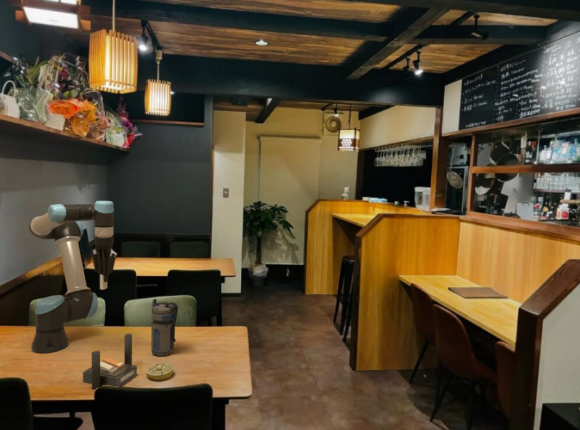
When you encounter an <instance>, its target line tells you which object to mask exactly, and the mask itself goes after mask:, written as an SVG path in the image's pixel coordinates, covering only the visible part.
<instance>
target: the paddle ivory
mask: <svg viewBox="0 0 580 430" xmlns="http://www.w3.org/2000/svg"><path fill="white" fill-rule="evenodd" d="M100 368H101V369H103V370H106V371H108V372H110V373H113V372H115V371H117V368H116V367H114V366H111V365H109V364H107V363H104V362H101V361H100Z"/></svg>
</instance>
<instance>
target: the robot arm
mask: <svg viewBox="0 0 580 430" xmlns="http://www.w3.org/2000/svg"><path fill="white" fill-rule="evenodd" d="M47 209H48V210H47V212H46V213H45V214H43V215H39V216H36V217H33V218H32V219H31V220H30V222H29V223H28V230H29V232H30V234H31V235H32V236H34V238H36V239H40V240H54V244H56V245H57V246H58V247H59V252H60V257H61V261H62V267H63V272H64V273H63V274H64V278H65V283H66V289H67V291H66V292H65V294H64V295H62V294H61V295H59V294H58V295H51V296H46V297H43V298H41V299H39V300H38V301H36V302H35V303H36V304H35V309H34V310H35V311H34V315H35V334H34V337H33V341H32V342H31V351H32V352H33V353H37V354H50V353H53V352H58V351H62V350H63V349H66V348H67V347H68V346H69V344H70V343H69V338H68V335H67V332H66V330H65V324H66V323H69V322H74V321H78V320H84V319H85V320H86V319H88V318H91V317H94V316H95V314H96V313H97V311H98V307H99V304H98V303H99V302H98V301H99V299H98V296H97V294H96V293H95V292H92V289H91V288H90V287H88V286H87V282H86V278H85V277H86V276H85V271H84V266H83V261H82V255H81V250H80V246H79V242H80V241H81V237H83V234H84V226H83V223H82V222H84V221H85V222H86V221H87V222H88V221H89V222H90V221H94V245H95V247H94V249H93V250H90V252H89V253H90V255H91V257H92V262H93V263H92V264H93V269H94V272H95V273H97V274H98V281H99V290H106V289H108V282H109V275H110V274H112V273H113V271H114V267H115V262H116V259H117V257H118V255H119V254H118V252H115V250H114V249H113V248H114V247H113V245H114V212H115V208H114V202H113V201H110V200H96V201H95V203H94V202H89V203H69V204H66V203H65V204H62V203H58V204H57V203H56V204H51V205H49V207H48V208H47Z"/></svg>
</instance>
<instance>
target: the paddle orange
mask: <svg viewBox="0 0 580 430" xmlns="http://www.w3.org/2000/svg"><path fill="white" fill-rule="evenodd" d="M103 360H104V363H107V364H109V365H111V366H114V367H116V368H118V369H120V368H121V367H123V366H124V364H123V363H124V362H121V361H118V360H116V359H113V358H110V357H107V358H105V359H103Z"/></svg>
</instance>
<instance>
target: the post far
mask: <svg viewBox="0 0 580 430" xmlns="http://www.w3.org/2000/svg"><path fill="white" fill-rule="evenodd" d="M123 340H124V345H123V346H124V350H123V351H124V352H123V353H124V362H123V363H125V364H130V365H133V334H132V333H127V334H125V335H124V339H123Z"/></svg>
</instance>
